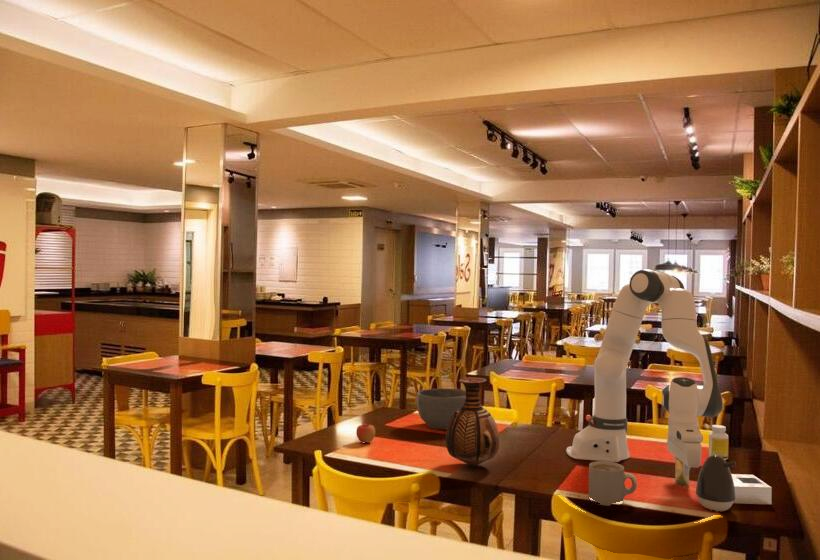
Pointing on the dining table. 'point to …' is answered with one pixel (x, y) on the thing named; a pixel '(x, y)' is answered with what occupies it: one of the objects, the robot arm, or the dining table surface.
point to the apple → (365, 433)
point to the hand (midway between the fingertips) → (682, 473)
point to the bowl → (439, 405)
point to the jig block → (751, 490)
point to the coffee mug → (609, 482)
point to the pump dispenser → (716, 484)
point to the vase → (472, 428)
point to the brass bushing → (680, 474)
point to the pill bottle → (718, 442)
